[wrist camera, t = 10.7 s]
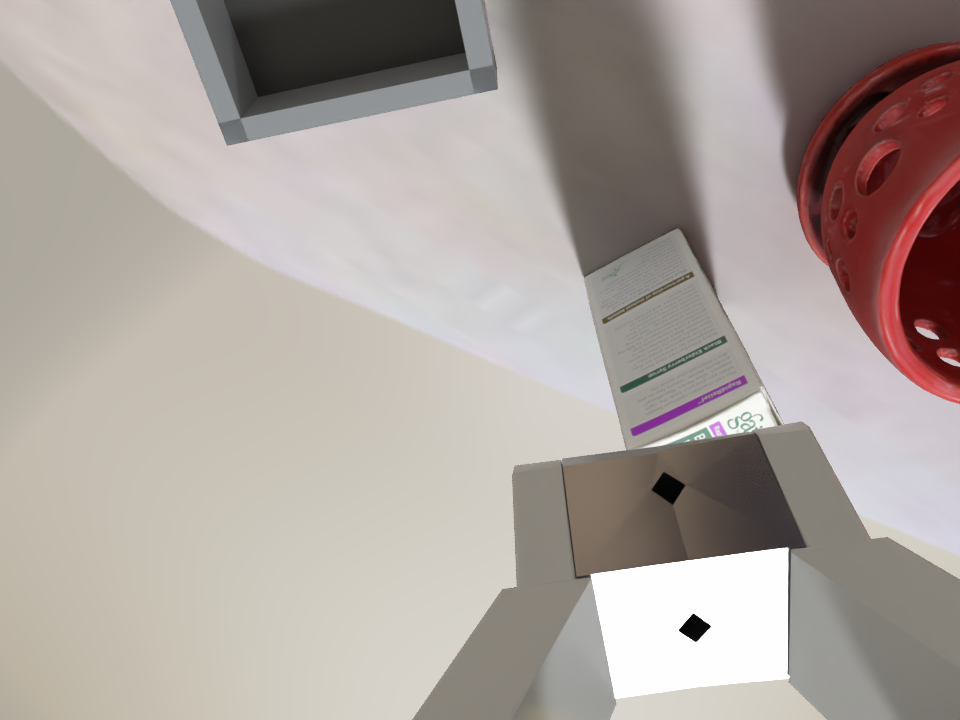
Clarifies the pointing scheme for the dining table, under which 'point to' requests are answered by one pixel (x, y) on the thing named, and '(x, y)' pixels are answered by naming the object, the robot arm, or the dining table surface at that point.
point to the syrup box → (673, 350)
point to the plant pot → (894, 209)
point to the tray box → (332, 58)
